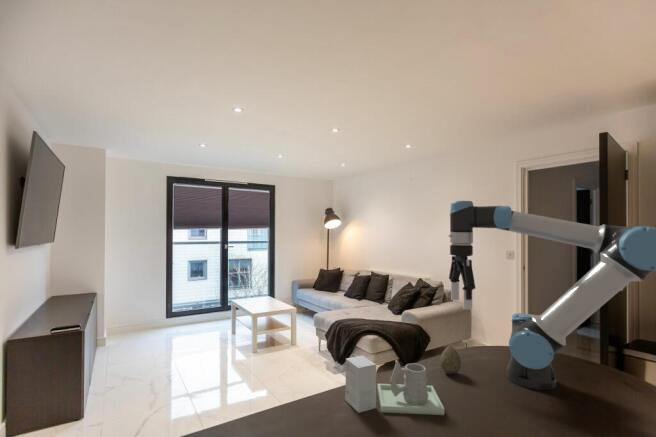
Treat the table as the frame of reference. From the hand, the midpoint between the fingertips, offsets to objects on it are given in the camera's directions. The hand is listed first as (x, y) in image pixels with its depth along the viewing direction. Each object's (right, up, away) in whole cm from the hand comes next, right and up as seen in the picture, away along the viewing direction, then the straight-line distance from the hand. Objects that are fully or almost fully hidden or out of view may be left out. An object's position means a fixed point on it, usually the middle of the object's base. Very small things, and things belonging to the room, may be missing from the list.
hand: (460, 304), depth 121 cm
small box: (-37, -26, -17) cm, 49 cm away
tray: (-22, -26, -15) cm, 38 cm away
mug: (-22, -26, -15) cm, 37 cm away
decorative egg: (-2, -27, +5) cm, 27 cm away
